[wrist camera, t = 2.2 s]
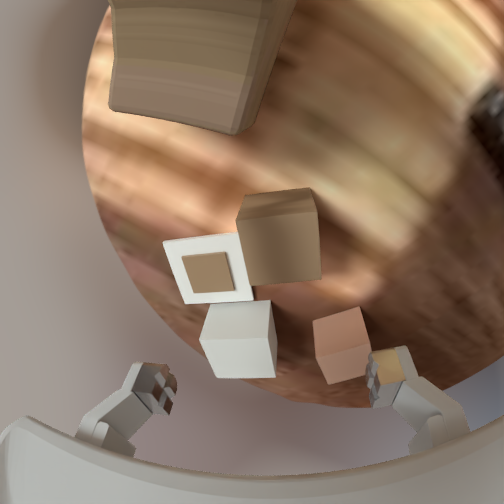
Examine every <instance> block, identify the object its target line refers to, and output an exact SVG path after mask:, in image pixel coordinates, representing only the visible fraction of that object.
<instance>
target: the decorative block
mask: <svg viewBox="0 0 504 504" xmlns="http://www.w3.org/2000/svg"><path fill="white" fill-rule="evenodd" d="M108 1H109V4H110V6H111V15H112V34H113V48H114V62H113V69H112V76H111V84H110V92H109V102H108V104H109V108H110V109H111V110H113V111H115V112H121V113H128V114H134V115H141V116H146V117H152V118H157V119H162V120H167V121H172V122H177V123H182V124H186V125H191V126H195V127H199V128H203V129H207V130H211V131H215V132H219V133H223V134H227V135H238V134H240V133H241V132H243V131H244V130H246V129H247V128H249V127H250V126H252V125H253V123H254V122H255V119H256V116H257V113H258V110H259V107H260V104H261V101H262V98H263V95H264V92H265V89H266V86H267V83H268V80H269V77H270V74H271V71H272V68H273V65H274V62H275V60H276V57H277V54H278V51H279V48H280V46H281V43H282V40H283V37H284V34H285V32H286V29H287V26H288V24H289V21H290V18H291V16H292V13H293V10H294V8H295V5H296V2H297V0H108Z"/></svg>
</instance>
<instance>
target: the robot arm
mask: <svg viewBox="0 0 504 504" xmlns="http://www.w3.org/2000/svg"><path fill="white" fill-rule="evenodd" d="M368 361H369V363H368V364H367V365H366V370H365V377H366V384H367V387H368V388H370V389H371V391H370V394H369V398H370V402H371V407H372V409H375V408H380V407H386V406H391V405H392V407H393V408H394V409H395V410H396V411H397V412H398V413H399V414H400V415H401V416H402V417H403V418H404V419H405V420H406V421H407V423H409V425H410V426H411V427H412V428H413V429H414V430H415V431H416V432H417V434H416V435H415V436H414V438H413V439H412V440H411V441H410V443H409V444H408V446H409V452H410V455H408V456H405V457H401V458H398V459H394V460H390V461H386V462H382V463H378V464H373V465H368V466H363V467H358V468H352V469H346V470H340V471H332V472H324V473H314V474H301V475H282V476H281V475H280V476H279V475H278V476H258V475H257V476H256V475H255V476H254V475H233V474H221V473H211V472H203V471H196V470H189V469H183V468H177V467H172V466H166V465H161V464H157V463H153V462H148V461H144V460H140V459H136V458H133V457H134V454H135V450H136V448H135V446H134V445H133V444H131V443H130V442H129V441H128V440H129V439H130V438H131V437H132V435H133V434H134V433H135V432H136V431H137V430H138V429H139V428H140V427H141V426H142V425H143V424H144V423H145V422H146V421H147V420H148V419H149V418H150V417H151V416H152V415H153V414H160V415H169V414H170V411H171V408H172V405H173V402H172V400H171V398H172V397H174V396H175V394H176V391H177V382H176V378H175V377H174V375H173V374H171V373H169V370H170V369H169V367H168V366H167V364H155V363H145V362H134V363H133V364H132V366H131V369H130V371H129V373H128V375H127V377H126V379H125V382H124V384H123V386H122V388H121V390H117V391H116V392H114V393H113V394H112V395H111V396H110V397H108V398H107V399H105V400H104V401H103V402H102V403H100V404H99V405H97V406H96V407H95V408H94V409H92V410H91V411H90V412H88V413H87V414H86V415H84V417H83V419H82V422H81V424H80V426H79V428H78V431H77V433H76V435H75V437H72V436H70V435H68V434H65V433H63V432H61V431H59V430H57V429H54V428H52V427H50V426H48V425H46V424H44V423H42V422H40V421H38V420H37V419H35V418H33V417H31V416H24V417H21V418H20V419H18V420H17V421H15V422H13V423H12V424H10V425H9V426H7V427H6V428H5V429H4V431H3V432H2V434H1V435H0V504H504V415H503V416H501V417H499V418H497V419H495V420H494V421H492V422H490V423H488V424H486V425H484V426H482V427H480V428H478V429H476V430H474V431H472V432H470V429H469V426H468V423H467V420H466V417H465V414H464V411H463V409H462V406H461V405H460V404H459V403H457V402H456V401H454V400H453V399H452V398H451V397H449V396H448V395H446V394H445V393H444V392H443V391H441V390H440V389H438V388H437V387H436V386H434V385H433V384H432V383H430V382H429V381H428V380H426V379H425V378H424V377H419V376H418V373H417V371H416V368H415V365H414V363H413V360H412V358H411V355H410V353H409V350H408V348H407V346H405V345H404V346H400V347H395V348H389V349H384V350H379V351H374V352H370V353H369V355H368Z"/></svg>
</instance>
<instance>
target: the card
mask: <svg viewBox="0 0 504 504" xmlns="http://www.w3.org/2000/svg"><path fill="white" fill-rule="evenodd" d="M163 246H164V248H165V251H166V254H167V257H168V260H169V263H170V265H171V268H172V271H173V274H174V276H175V279H176V282H177V284H178V287H179V289H180V292H181V295H182V297H183V300H184V302H185V304H197V303H218V302H235V301H251V300H254V295H253V291H252V286H250V284H249V280H248V275H247V271H246V266H245V262H244V257H243V253H242V248H241V244H240V239H239V235H238V232H231V233H222V234H214V235H206V236H198V237H190V238H182V239H174V240H167V241H164V242H163Z"/></svg>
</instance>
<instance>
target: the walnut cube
mask: <svg viewBox="0 0 504 504" xmlns="http://www.w3.org/2000/svg"><path fill="white" fill-rule="evenodd" d="M236 225H237V230H238V235H239V239H240V244H241V248H242V253H243V257H244V262H245V266H246V271H247V275H248V280H249V284H250V286H256V285H268V284H280V283H291V282H301V281H311V280H321V258H320V241H319V227H318V214H317V209H316V206H315V203H314V199H313V196H312V193H311V190H310V188H301V189H292V190H283V191H275V192H267V193H259V194H252V195H245V197H244V200H243V202H242V205H241V208H240V210H239V213H238V216H237V218H236Z"/></svg>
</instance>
